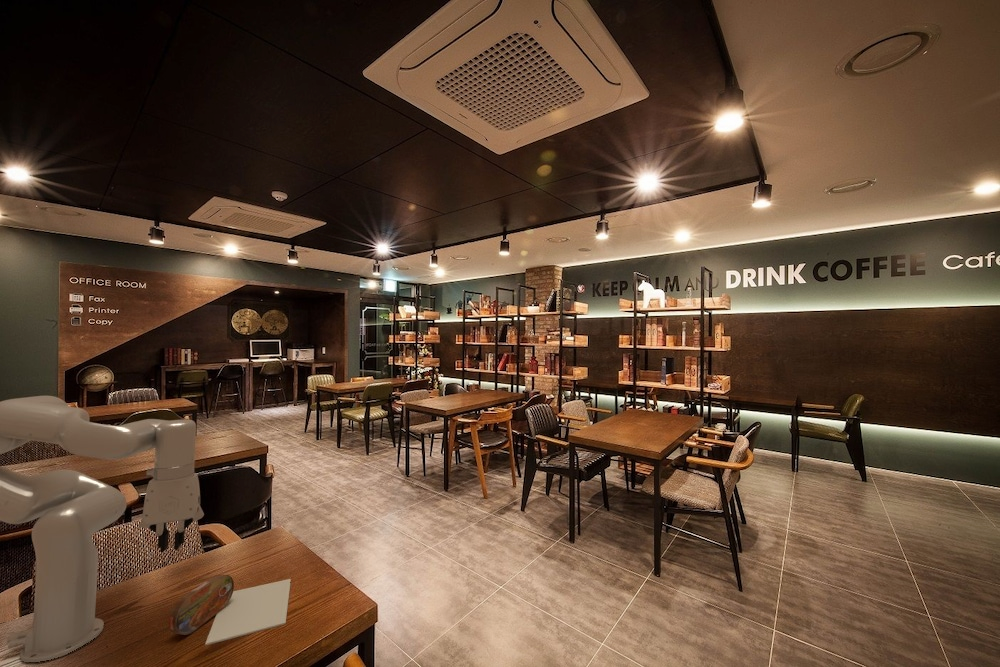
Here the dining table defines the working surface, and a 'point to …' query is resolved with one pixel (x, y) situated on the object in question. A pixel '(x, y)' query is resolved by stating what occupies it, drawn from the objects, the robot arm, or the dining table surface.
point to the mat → (251, 611)
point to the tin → (201, 604)
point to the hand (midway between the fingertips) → (171, 547)
